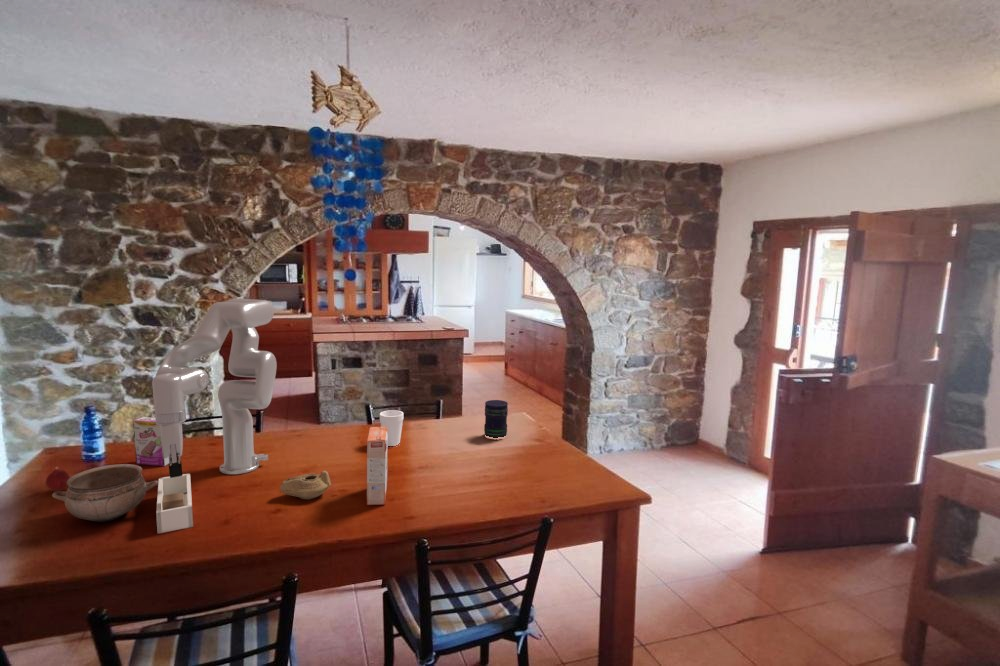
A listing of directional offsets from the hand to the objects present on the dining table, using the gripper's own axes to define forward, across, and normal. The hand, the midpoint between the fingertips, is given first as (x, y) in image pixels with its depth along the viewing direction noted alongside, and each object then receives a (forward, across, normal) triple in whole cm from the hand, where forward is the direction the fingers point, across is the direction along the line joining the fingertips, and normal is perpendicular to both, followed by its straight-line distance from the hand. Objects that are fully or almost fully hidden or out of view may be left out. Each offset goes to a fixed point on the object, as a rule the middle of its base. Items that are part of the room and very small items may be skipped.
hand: (176, 475), depth 161 cm
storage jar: (+14, -15, +118) cm, 119 cm away
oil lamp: (+11, +9, +35) cm, 37 cm away
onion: (+10, -29, -32) cm, 45 cm away
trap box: (+10, +3, -1) cm, 10 cm away
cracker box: (+11, +19, +55) cm, 59 cm away
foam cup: (+13, -25, +75) cm, 80 cm away
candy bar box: (+12, -43, -7) cm, 45 cm away
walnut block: (+7, +11, -1) cm, 13 cm away
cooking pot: (+10, -2, -17) cm, 20 cm away
